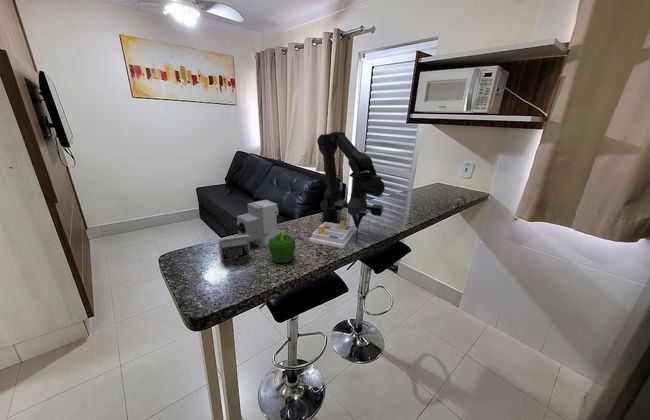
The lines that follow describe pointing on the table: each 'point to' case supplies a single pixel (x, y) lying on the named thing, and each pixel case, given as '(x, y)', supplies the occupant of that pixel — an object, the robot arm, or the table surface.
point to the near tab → (321, 229)
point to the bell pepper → (282, 248)
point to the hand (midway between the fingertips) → (357, 227)
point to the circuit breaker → (259, 222)
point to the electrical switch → (234, 249)
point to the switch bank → (333, 235)
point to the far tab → (342, 225)
